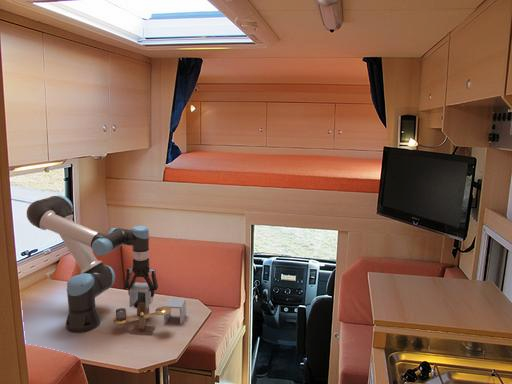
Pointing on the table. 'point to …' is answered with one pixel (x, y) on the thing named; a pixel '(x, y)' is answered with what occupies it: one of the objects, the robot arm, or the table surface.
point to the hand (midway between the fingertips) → (141, 301)
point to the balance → (140, 320)
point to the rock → (140, 298)
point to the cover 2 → (176, 304)
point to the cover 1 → (139, 288)
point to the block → (142, 309)
